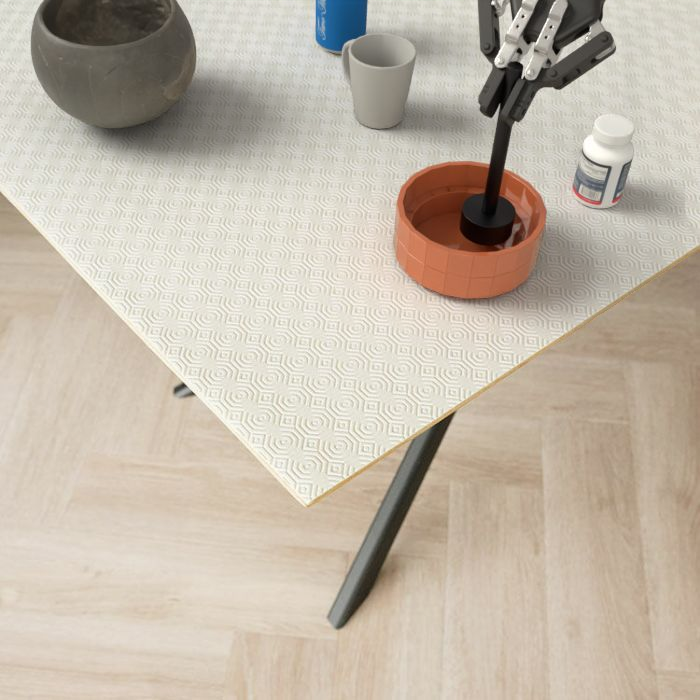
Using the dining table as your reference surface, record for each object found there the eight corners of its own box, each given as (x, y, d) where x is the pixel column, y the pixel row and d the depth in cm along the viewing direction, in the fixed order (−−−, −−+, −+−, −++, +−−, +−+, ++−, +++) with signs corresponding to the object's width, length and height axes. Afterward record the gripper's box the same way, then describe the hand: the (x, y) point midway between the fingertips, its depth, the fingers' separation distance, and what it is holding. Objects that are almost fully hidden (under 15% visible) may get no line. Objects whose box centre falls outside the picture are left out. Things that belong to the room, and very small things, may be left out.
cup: (378, 143, 103) (382, 76, 97) (319, 105, 108) (319, 39, 102) (424, 117, 107) (431, 51, 101) (365, 82, 112) (368, 17, 105)
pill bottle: (608, 177, 100) (629, 107, 94) (628, 206, 97) (650, 136, 90) (563, 182, 100) (581, 112, 93) (581, 212, 96) (601, 142, 90)
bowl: (186, 59, 114) (174, -40, 105) (216, 141, 103) (206, 37, 93) (40, 79, 110) (14, -22, 101) (55, 167, 99) (28, 61, 89)
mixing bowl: (540, 219, 95) (551, 173, 91) (528, 314, 86) (540, 267, 81) (407, 198, 97) (411, 151, 93) (381, 288, 88) (384, 241, 83)
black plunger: (514, 216, 92) (548, 53, 78) (509, 250, 88) (544, 86, 75) (463, 208, 92) (488, 45, 79) (455, 241, 89) (481, 77, 75)
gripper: (511, -118, 75) (415, 76, 78) (664, -70, 70) (556, 136, 73) (531, -74, 82) (442, 103, 85) (672, -27, 77) (573, 160, 79)
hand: (495, 118), depth 79 cm, fingers closed on black plunger, 1 cm apart
